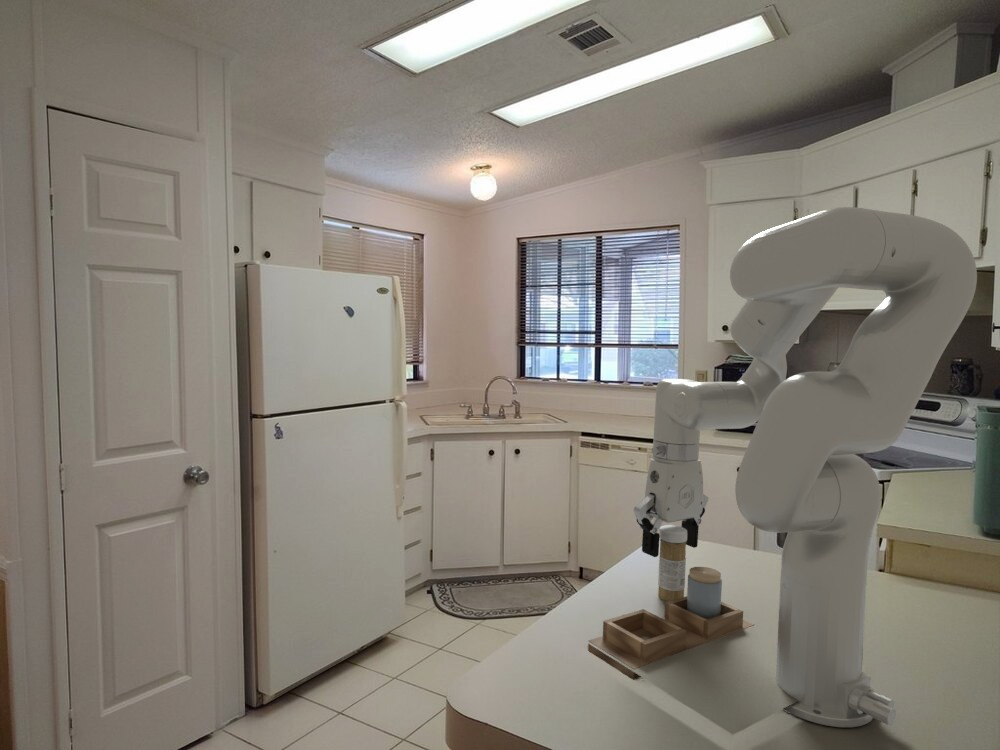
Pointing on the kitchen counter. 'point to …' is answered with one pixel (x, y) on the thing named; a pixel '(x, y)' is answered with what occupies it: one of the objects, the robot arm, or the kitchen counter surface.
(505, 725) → the kitchen counter surface
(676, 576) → the sprinkles bottle
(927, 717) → the kitchen counter surface
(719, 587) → the spice pot
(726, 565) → the kitchen counter surface
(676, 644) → the spice rail
